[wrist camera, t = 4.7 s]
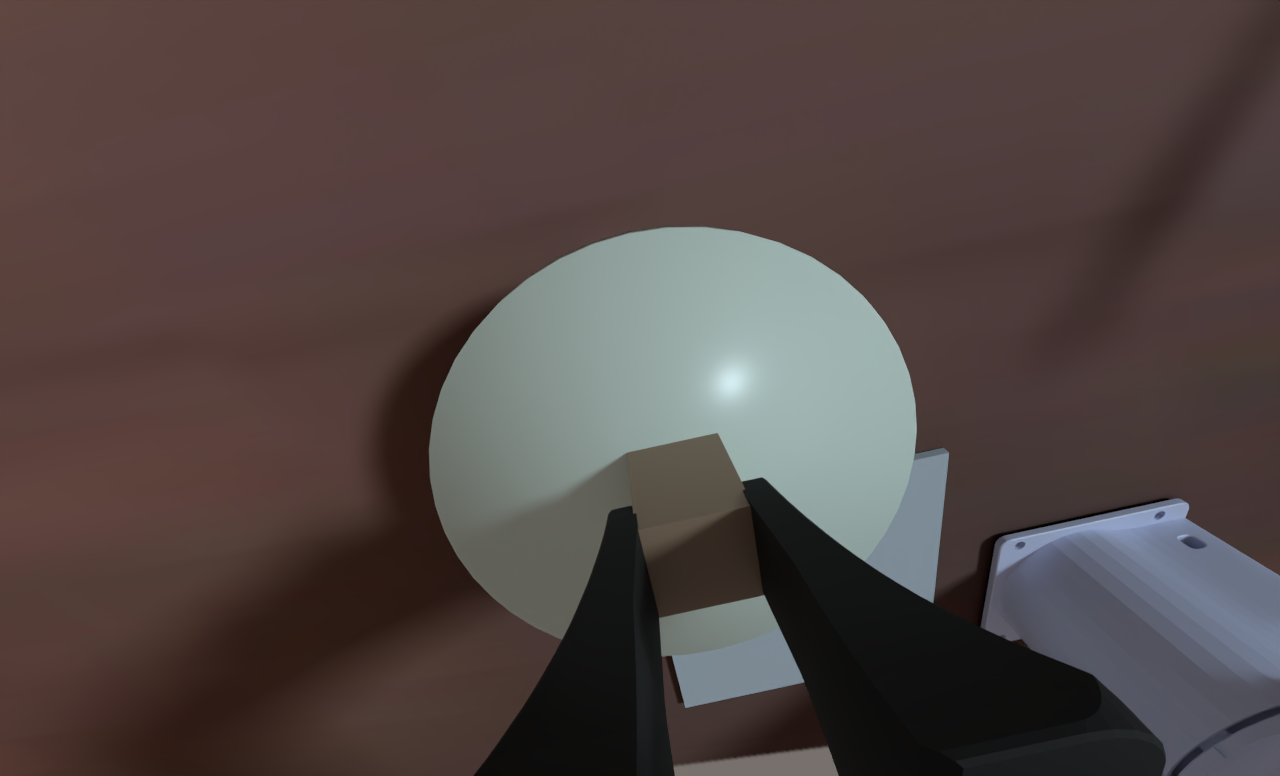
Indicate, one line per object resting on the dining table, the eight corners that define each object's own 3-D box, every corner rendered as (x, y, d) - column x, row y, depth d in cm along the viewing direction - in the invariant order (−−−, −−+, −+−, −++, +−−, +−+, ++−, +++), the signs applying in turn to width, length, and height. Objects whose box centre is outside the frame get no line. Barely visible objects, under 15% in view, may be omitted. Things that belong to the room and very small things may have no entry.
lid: (902, 171, 12) (1044, 160, 8) (899, 589, 17) (986, 703, 14) (355, 291, 12) (241, 337, 8) (519, 671, 17) (496, 807, 14)
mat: (943, 447, 22) (948, 452, 21) (923, 649, 28) (927, 655, 27) (635, 514, 22) (636, 520, 21) (684, 700, 28) (685, 707, 27)
